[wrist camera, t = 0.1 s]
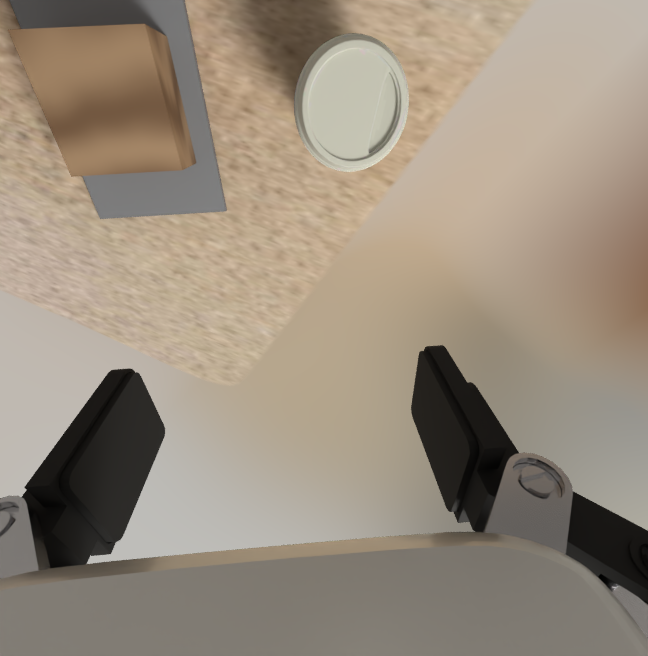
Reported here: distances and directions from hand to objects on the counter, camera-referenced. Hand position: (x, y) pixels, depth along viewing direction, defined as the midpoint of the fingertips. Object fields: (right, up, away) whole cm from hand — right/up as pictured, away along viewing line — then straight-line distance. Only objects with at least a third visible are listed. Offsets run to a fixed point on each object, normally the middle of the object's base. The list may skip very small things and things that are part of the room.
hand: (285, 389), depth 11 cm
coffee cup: (+3, +24, +22) cm, 33 cm away
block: (-17, +23, +20) cm, 35 cm away
